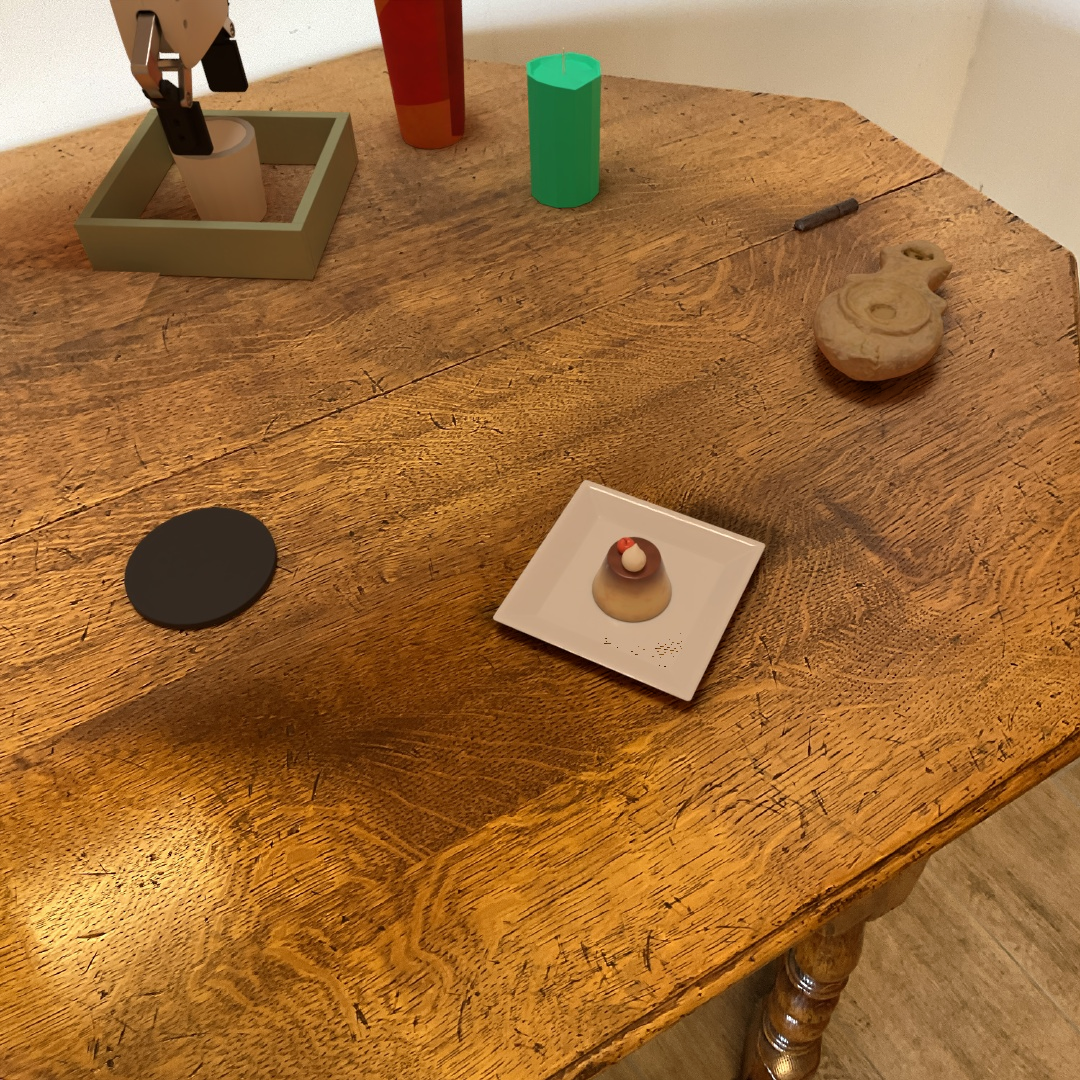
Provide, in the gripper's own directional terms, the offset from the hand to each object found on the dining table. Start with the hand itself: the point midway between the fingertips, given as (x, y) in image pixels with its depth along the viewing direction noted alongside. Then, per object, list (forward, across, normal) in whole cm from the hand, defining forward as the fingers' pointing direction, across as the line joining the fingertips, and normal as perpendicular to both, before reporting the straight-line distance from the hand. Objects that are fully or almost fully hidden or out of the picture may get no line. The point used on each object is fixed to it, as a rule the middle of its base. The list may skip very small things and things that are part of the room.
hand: (212, 120), depth 79 cm
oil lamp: (+9, +14, +51) cm, 54 cm away
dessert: (+9, +38, +34) cm, 52 cm away
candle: (+9, -5, +27) cm, 29 cm away
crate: (+8, 0, -1) cm, 8 cm away
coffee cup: (+9, -14, +14) cm, 22 cm away
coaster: (+8, +38, +8) cm, 40 cm away
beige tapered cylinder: (+8, 0, -1) cm, 8 cm away
